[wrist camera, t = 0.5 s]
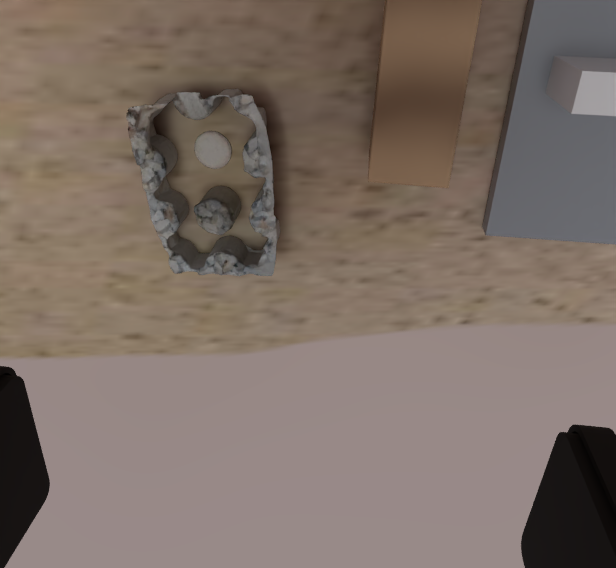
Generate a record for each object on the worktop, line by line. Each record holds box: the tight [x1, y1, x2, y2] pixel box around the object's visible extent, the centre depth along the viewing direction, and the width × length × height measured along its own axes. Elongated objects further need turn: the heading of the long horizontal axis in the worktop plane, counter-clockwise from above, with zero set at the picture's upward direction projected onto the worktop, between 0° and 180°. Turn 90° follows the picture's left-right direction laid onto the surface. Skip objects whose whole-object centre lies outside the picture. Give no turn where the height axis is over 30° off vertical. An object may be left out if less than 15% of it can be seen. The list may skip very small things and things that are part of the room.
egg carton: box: [126, 89, 280, 276], centre depth 33 cm, size 11×8×4 cm
